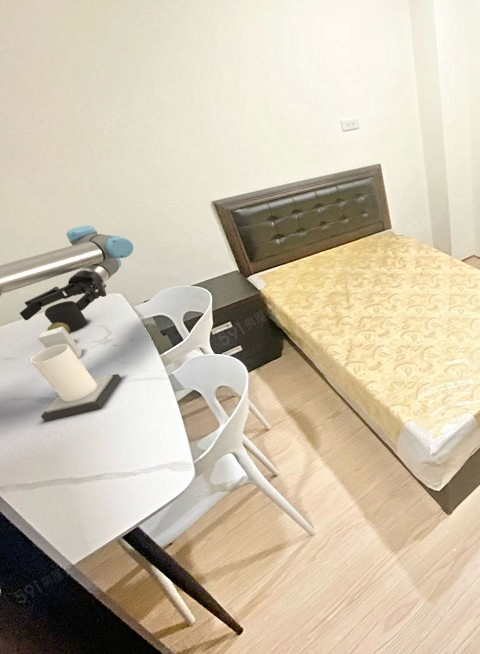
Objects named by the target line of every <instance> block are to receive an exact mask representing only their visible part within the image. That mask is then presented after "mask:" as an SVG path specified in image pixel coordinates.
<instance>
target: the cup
mask: <svg viewBox="0 0 480 654" xmlns="http://www.w3.org/2000/svg"><path fill="white" fill-rule="evenodd" d="M30 362H31V363H32V365H33V366H34V367H35V369H37V371H38V372H39V374H41V376H42V377H43V378H44V379H45V381H46V382H47V383H48V384H49V386H51V388H52V389H53V390H54V391H55V392H56V394H57V396H58V395H59V396H60V397H61V398H62V399H63V401H66V402H70V401H75V400H78V399H81V398H83V397H85V396H87V395H89V394H90V393H92V392H93V391H94V390H95V389H96V388H97V383H96V382H95V381H94V379H95V378H93V377H92V375H91V374H90V372H89V371H88V369H87V368H86V367H85V366H84V365H83V363H82V362H81V361H80V359H79V358H77V357H76V355H75V354H74V353H73V351H72V350H71V349H70V347H69V346H68V345H65V344H62V345H56V346H52V347H49V348H45V349H42V350H40V351H38V352H37V353H36V354H34V355H33V356H32V357H31V358H30Z"/></svg>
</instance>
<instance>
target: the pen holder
mask: <svg viewBox="0 0 480 654" xmlns="http://www.w3.org/2000/svg"><path fill="white" fill-rule="evenodd" d="M75 303H76V302H75V301H73V300H66V301H62V302H59V303H56V304H55V303H54V304H53V305H51V306H49V307H47V308H46V309H45V311H44V316H45V317H46V319H47V320H48V321H49V322H50V323H51V325H52V324H54V323H64V324H66V325H67V326H68V327H69V329H70V331H69V334H70V333H73V332H76V331H79V330H80V329H82V328H84V327H85V326H87V324H88V321H87V318H86V317H85V315H84V314H83V312H82V311H80V310H79V309H78V307H77V306H76V304H75Z"/></svg>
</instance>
